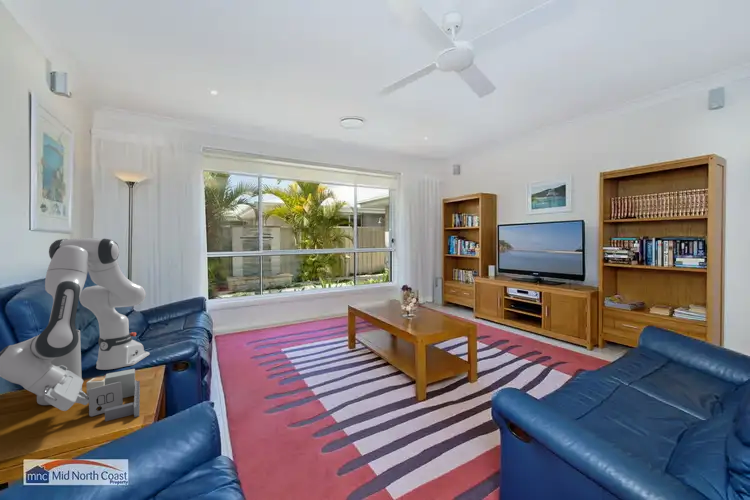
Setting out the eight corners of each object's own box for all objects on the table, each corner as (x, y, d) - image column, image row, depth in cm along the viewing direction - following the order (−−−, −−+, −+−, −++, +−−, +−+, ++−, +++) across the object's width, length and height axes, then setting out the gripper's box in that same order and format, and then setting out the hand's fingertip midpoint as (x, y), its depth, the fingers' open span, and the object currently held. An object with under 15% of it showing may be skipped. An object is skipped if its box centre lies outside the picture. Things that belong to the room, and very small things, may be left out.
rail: (135, 390, 132) (135, 380, 132) (139, 389, 133) (139, 379, 133) (134, 417, 113) (133, 406, 113) (139, 416, 114) (139, 404, 113)
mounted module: (106, 396, 127) (105, 373, 126) (135, 390, 132) (134, 368, 132) (105, 401, 123) (104, 378, 122) (135, 395, 128) (134, 372, 128)
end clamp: (105, 418, 112) (105, 408, 112) (134, 411, 116) (134, 402, 116) (104, 421, 110) (104, 411, 110) (134, 414, 115) (134, 404, 115)
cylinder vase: (31, 401, 123) (28, 336, 122) (73, 387, 134) (71, 327, 133) (44, 409, 117) (42, 341, 116) (88, 394, 128) (86, 332, 127)
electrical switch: (89, 418, 112) (88, 391, 112) (87, 413, 116) (87, 387, 116) (123, 408, 119) (122, 382, 119) (121, 404, 122) (120, 379, 123)
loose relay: (93, 390, 132) (93, 377, 132) (110, 388, 133) (109, 376, 133) (86, 394, 128) (86, 381, 128) (104, 393, 129) (103, 380, 129)
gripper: (51, 385, 101) (93, 406, 107) (64, 363, 118) (99, 383, 124) (31, 403, 99) (75, 423, 105) (47, 378, 116) (84, 397, 122)
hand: (88, 401), depth 115 cm, fingers closed
